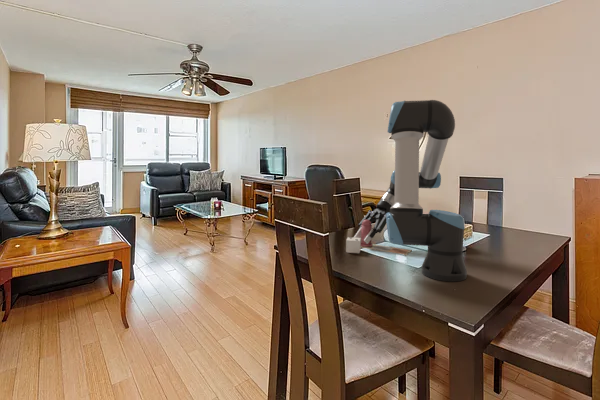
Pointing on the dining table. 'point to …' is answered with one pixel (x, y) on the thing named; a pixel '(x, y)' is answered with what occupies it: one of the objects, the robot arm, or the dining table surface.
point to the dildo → (365, 233)
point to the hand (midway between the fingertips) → (360, 240)
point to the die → (353, 245)
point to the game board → (389, 249)
